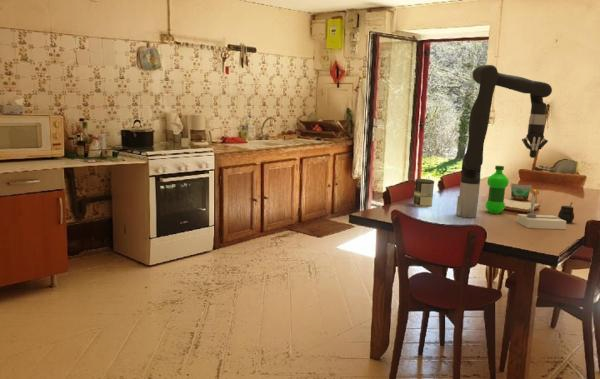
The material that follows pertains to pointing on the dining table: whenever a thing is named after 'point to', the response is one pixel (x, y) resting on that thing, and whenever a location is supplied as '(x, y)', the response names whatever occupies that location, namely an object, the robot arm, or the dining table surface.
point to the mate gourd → (566, 213)
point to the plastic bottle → (497, 191)
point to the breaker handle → (533, 202)
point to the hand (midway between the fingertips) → (532, 157)
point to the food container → (520, 192)
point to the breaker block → (541, 221)
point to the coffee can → (423, 192)
